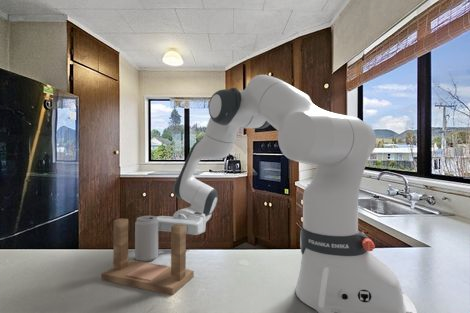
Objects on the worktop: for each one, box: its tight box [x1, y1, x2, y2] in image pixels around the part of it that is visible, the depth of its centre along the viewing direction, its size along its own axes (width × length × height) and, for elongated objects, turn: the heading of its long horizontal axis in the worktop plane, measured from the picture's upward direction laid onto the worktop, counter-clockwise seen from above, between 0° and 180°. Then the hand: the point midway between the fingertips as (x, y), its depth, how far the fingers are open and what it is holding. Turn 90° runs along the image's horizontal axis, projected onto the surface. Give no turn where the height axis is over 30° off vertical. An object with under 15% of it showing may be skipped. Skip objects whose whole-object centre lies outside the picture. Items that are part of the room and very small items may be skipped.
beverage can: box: [134, 215, 159, 263], centre depth 74 cm, size 6×6×12 cm
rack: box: [101, 218, 195, 296], centre depth 62 cm, size 20×9×14 cm, turn 70°
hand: (161, 230), depth 81 cm, fingers open, 8 cm apart
